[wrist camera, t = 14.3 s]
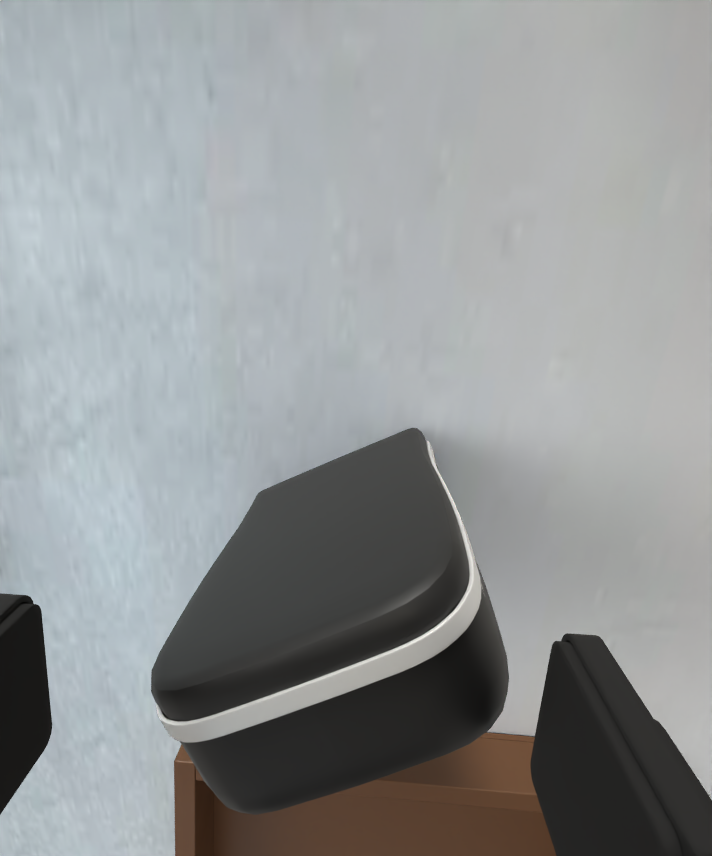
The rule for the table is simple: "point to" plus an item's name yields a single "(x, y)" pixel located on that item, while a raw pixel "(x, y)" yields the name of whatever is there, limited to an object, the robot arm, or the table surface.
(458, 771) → the tray
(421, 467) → the battery charger
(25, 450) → the table surface
